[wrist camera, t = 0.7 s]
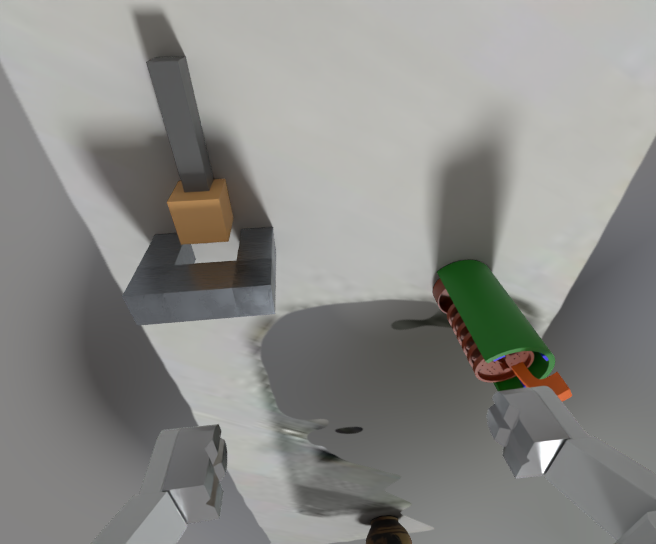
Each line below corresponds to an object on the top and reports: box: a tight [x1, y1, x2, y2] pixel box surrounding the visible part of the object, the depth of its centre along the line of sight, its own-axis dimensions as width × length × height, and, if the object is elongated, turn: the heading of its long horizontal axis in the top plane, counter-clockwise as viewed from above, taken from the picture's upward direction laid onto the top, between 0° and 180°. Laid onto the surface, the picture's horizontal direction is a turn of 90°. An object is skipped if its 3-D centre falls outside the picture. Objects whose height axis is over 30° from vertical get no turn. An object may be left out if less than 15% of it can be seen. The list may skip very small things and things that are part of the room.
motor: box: [433, 260, 572, 401], centre depth 44 cm, size 10×9×20 cm
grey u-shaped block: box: [122, 227, 276, 325], centre depth 38 cm, size 4×14×11 cm, turn 90°
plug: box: [146, 56, 233, 245], centre depth 34 cm, size 16×5×5 cm, turn 0°
